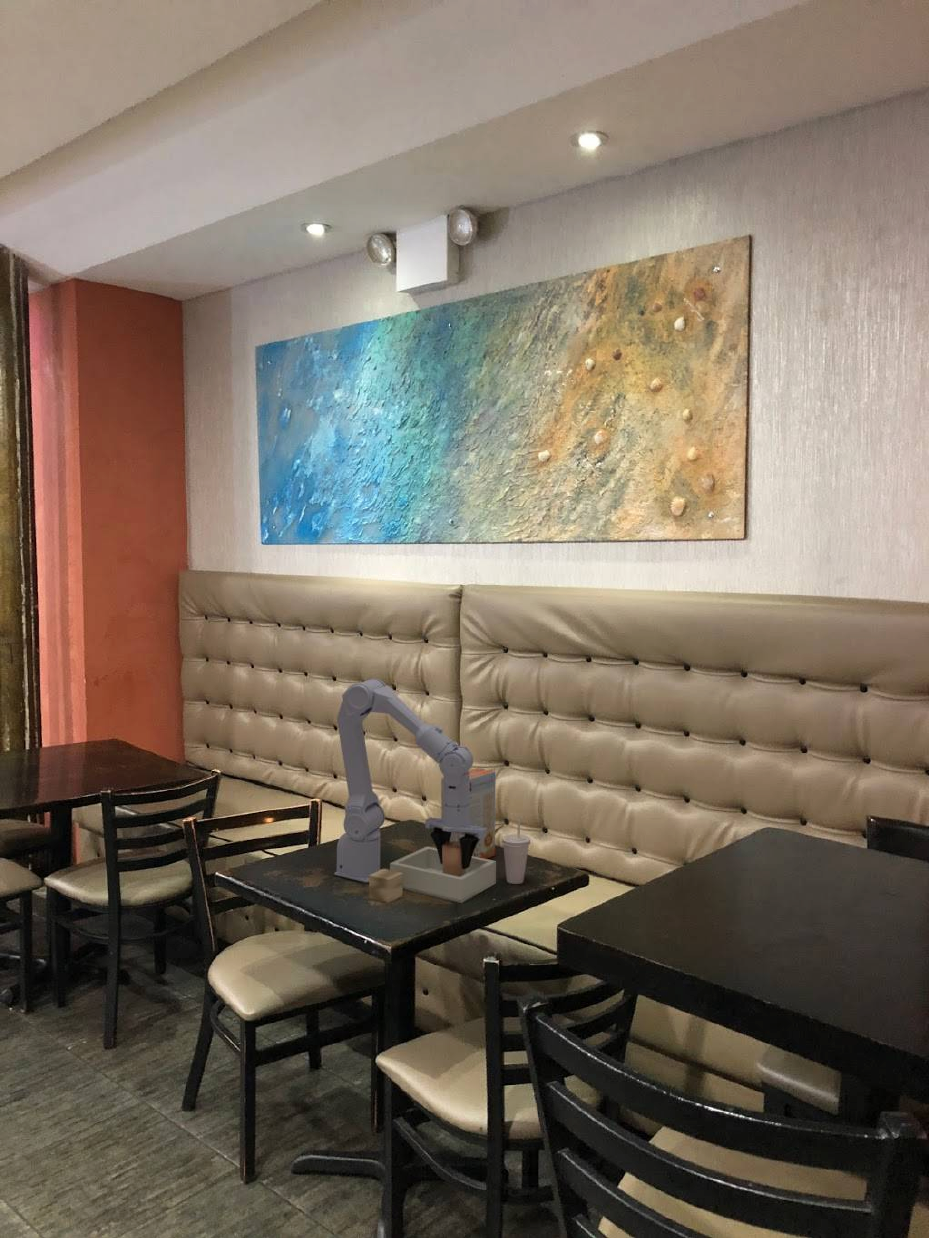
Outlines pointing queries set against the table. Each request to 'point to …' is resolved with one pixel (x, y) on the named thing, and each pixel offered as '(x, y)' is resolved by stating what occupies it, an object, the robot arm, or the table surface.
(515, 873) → the smoothie
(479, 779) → the cracker box
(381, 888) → the cube
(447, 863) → the cylinder
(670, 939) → the table surface
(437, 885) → the tote
